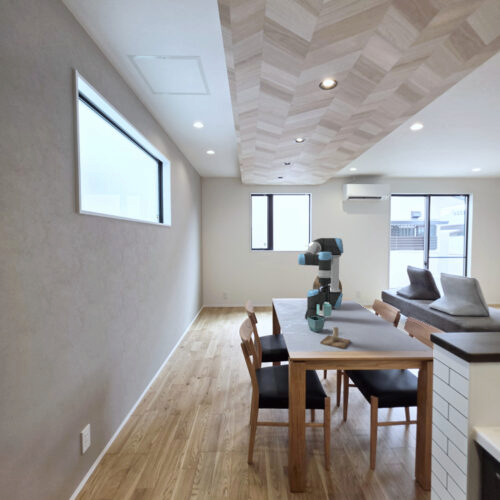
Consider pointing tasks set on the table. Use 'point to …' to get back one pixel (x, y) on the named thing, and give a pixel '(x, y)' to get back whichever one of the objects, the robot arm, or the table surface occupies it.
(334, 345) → the post stand
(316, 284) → the vase
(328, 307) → the ring
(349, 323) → the table surface
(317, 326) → the flower pot
